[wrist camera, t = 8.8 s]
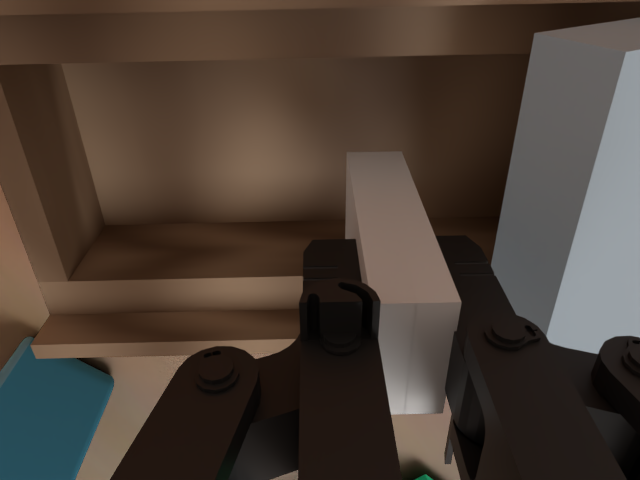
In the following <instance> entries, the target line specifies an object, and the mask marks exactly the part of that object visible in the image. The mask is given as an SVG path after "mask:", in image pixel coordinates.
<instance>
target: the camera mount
mask: <svg viewBox="0 0 640 480" xmlns="http://www.w3.org/2000/svg"><path fill="white" fill-rule="evenodd" d="M415 480H433V479H432V478H430V477H429V476H428V475H426V474H425V475H423V476H421V477H419V478H417V479H415Z"/></svg>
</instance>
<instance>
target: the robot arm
mask: <svg viewBox="0 0 640 480" xmlns="http://www.w3.org/2000/svg"><path fill="white" fill-rule="evenodd" d="M299 317H300V334H299V335H298V337H297V339H296V340H295V341H294V342H293V343H292V344H291V345H290V346H288V347H287V348H285V349H284V350H282V351H280V352H278V353H275V354H272V355H270V356H266V357H262V358H259V359H255V358H254V357H252V356H251V355H250V354H249V353H248V352H246V351H245V350H242V349H239V348H236V347H233V346H215V347H211V348H207V349H204V350H201V351H199V352H197V353H195V354H194V355H192V356H190V357H188V358H187V359H186V361H185V362H184V363H183V364H182V365H181V366H180V367H179V368H178V370H177V371H176V373H175V375H174V376H173V378H172V379H171V381H170V383H169V384H168V386H167V388H166V389H165V391H164V393H163V394H162V396H161V397H160V399H159V401H158V402H157V404H156V406H155V407H154V409H153V410H152V412H151V414H150V415H149V417H148V419H147V420H146V422H145V423H144V425H143V427H142V428H141V430H140V432H139V433H138V435H137V436H136V438H135V440H134V441H133V443H132V445H131V446H130V448H129V449H128V451H127V453H126V454H125V456H124V458H123V459H122V461H121V462H120V464H119V466H118V467H117V469H116V471H115V472H114V474H113V475H112V477H111V479H110V480H270V479H273V478H276V477H279V476H281V475H284V474H287V473H290V472H293V471H296V470H298V480H402V477H401V471H400V465H399V460H398V454H397V448H396V442H395V436H394V430H393V424H392V418H391V414H433V413H443V409H444V403H445V398H446V395H447V399H448V402H449V406H450V409H451V413H452V415H451V421H450V426H449V432H448V437H447V443H446V448H445V464H451V460H452V455H453V452H454V456H455V460H456V463H457V467H458V471H459V475H460V478H461V480H640V337H635V336H615V337H613V338H611V339H608V340H606V341H605V342H604V343H603V345H602V347H601V348H600V350H599V353H598V354H595V353H590V352H585V351H580V350H575V349H570V348H565V347H562V346H558V345H555V344H552V343H550V342H549V340H548V339H547V337H546V335H545V334H544V333H543V332H542V331H541V329H540V328H539V327H538V326H537V325H535V324H534V323H532V322H531V321H529V320H527V319H526V318H524V317H521V316H518V315H516V313H515V311H514V309H513V308H512V306H511V304H510V302H509V300H508V298H507V296H506V294H505V292H504V290H503V288H502V287H501V285H500V283H499V281H498V279H497V277H496V276H494V271H493V269H492V267H491V265H490V264H488V260H487V258H486V256H485V254H484V252H483V250H482V248H481V247H480V246H479V245H477V244H476V243H475V242H474V241H472V240H471V239H470V238H468V237H467V236H466V235H454V236H435V234H434V232H433V229H432V227H431V224H430V222H429V219H428V217H427V214H426V212H425V209H424V207H423V204H422V201H421V199H420V196H419V194H418V191H417V189H416V186H415V184H414V181H413V179H412V176H411V174H410V171H409V169H408V166H407V164H406V161H405V159H404V156H403V154H402V151H391V152H347V166H346V223H345V239H321V240H312V241H311V242H310V244H309V245H308V246H307V248H306V249H305V251H304V252H303V293H302V295H301V298H300V301H299Z"/></svg>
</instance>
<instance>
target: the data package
mask: <svg viewBox="0 0 640 480" xmlns="http://www.w3.org/2000/svg"><path fill="white" fill-rule="evenodd" d="M34 339H35V338H33V337H26V338H25V339H24V340H23V341H22V342H21V343H20V345H19V346H18V348H17V349H16V350H15V352H14V353H13V355H12V356H11V357H10V359H9V360H8V362H7V363H6V364H5V366H4V367H3V369H2V370H1V371H0V480H75V479H76V476H77V474H78V471H79V469H80V467H81V464H82V462H83V459H84V457H85V455H86V452H87V450H88V448H89V445H90V443H91V440H92V438H93V436H94V433H95V431H96V428H97V426H98V424H99V421H100V419H101V417H102V414H103V412H104V409H105V407H106V405H107V402H108V400H109V397H110V395H111V393H112V390H113V386H114V379H113V377H112V376H110V375H108V374H106V373H104V372H102V371H100V370H98V369H96V368H94V367H92V366H90V365H88V364H86V363H84V362H82V361H80V360H78V359H76V358H47V359H36V358H35V355H34V353H33V351H32V348H31V346H30V345H31V343H32V342H33V340H34Z"/></svg>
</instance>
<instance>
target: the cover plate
mask: <svg viewBox="0 0 640 480" xmlns="http://www.w3.org/2000/svg"><path fill="white" fill-rule="evenodd" d="M491 267H492V269H493V271H494V276H496V277H497V279H498V281H499V283H500V285H501V287H502V288H503V290H504V292H505V294H506V296H507V298H508V300H509V302H510V304H511V306H512V308H513V309H514V311H515V313H516V315H518V316H521V317H524V318H526V319H527V320H529V321H531V322H532V323H534V324H535V325H537V326H538V327H539V328H540V329H541V331H542V332H543V333H544V334H545V335H546V337H547V339H548V340H549V342H550V343H552V344H555V345H558V346H562V347H565V348H570V349H575V350H580V351H585V352H590V353H595V354H598V353H599V350H600V348H601V347H602V345H603V343H604V342H605V341H606V340H608V339H611V338H613V337H615V336H635V337H640V18H633V19H626V20H619V21H613V22H606V23H599V24H592V25H585V26H579V27H572V28H565V29H558V30H552V31H545V32H538V33H534V39H533V44H532V49H531V55H530V60H529V65H528V70H527V76H526V81H525V86H524V92H523V97H522V102H521V108H520V113H519V118H518V124H517V129H516V134H515V140H514V145H513V150H512V156H511V161H510V166H509V172H508V177H507V182H506V188H505V193H504V198H503V204H502V209H501V214H500V220H499V225H498V230H497V236H496V241H495V246H494V252H493V257H492V262H491Z"/></svg>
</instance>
